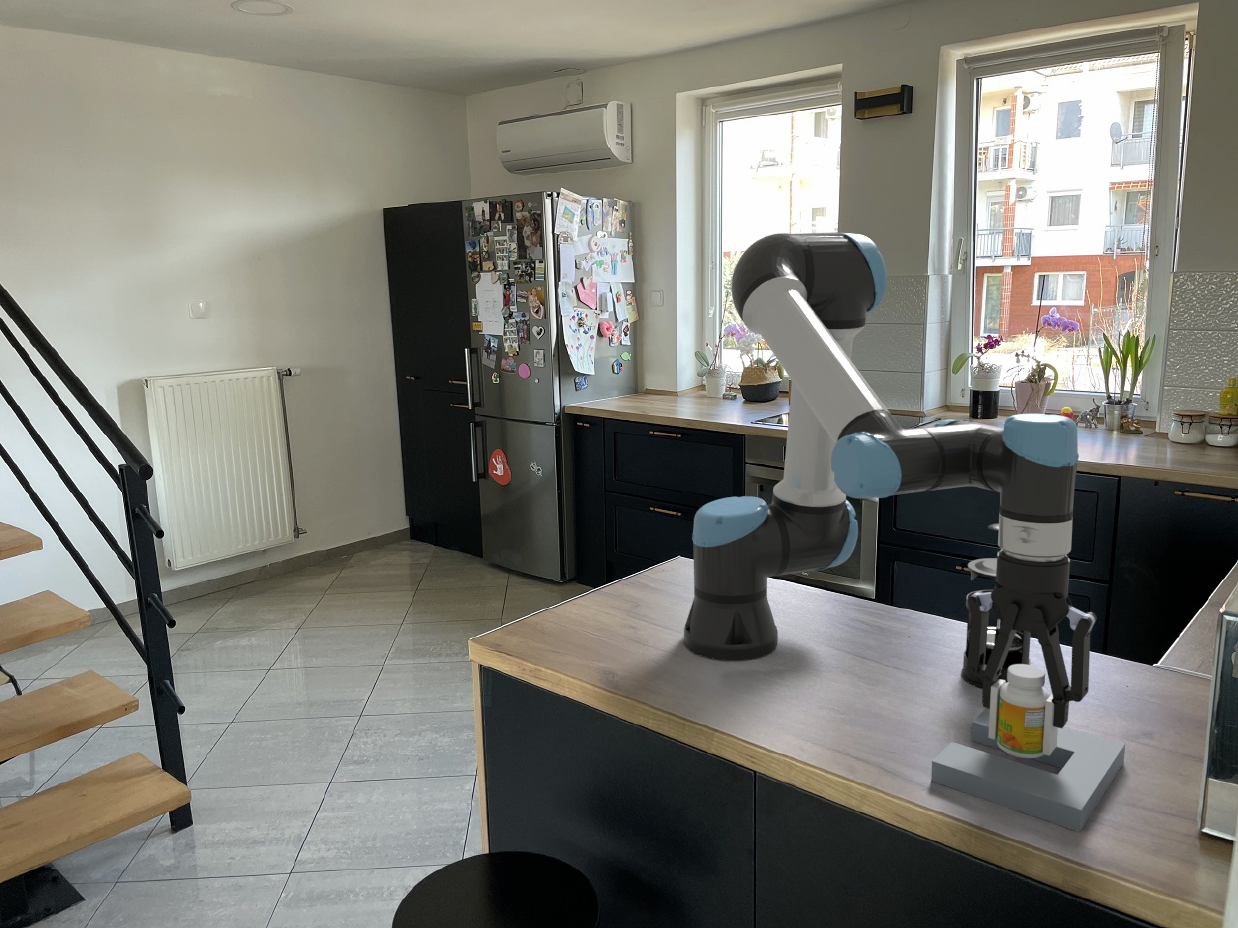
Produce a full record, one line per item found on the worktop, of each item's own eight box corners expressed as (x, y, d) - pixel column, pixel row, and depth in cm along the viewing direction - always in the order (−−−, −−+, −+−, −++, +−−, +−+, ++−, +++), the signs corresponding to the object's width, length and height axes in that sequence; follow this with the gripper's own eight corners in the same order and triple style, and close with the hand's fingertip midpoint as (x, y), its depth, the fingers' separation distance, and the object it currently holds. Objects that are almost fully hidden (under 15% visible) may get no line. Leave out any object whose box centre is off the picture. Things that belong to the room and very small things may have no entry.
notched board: (931, 780, 106) (932, 760, 105) (987, 723, 119) (988, 705, 118) (1079, 831, 95) (1081, 810, 95) (1123, 762, 109) (1125, 743, 108)
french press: (1004, 699, 125) (1014, 539, 121) (945, 677, 133) (951, 525, 129) (1050, 676, 132) (1060, 523, 128) (991, 657, 140) (999, 511, 135)
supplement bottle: (988, 738, 110) (992, 662, 108) (1031, 735, 110) (1036, 659, 108) (1011, 761, 104) (1015, 681, 102) (1056, 757, 105) (1061, 678, 103)
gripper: (940, 546, 106) (932, 730, 110) (1114, 575, 94) (1098, 781, 98) (964, 532, 111) (956, 708, 116) (1132, 558, 99) (1117, 753, 104)
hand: (1022, 741), depth 107 cm, fingers closed on supplement bottle, 5 cm apart
